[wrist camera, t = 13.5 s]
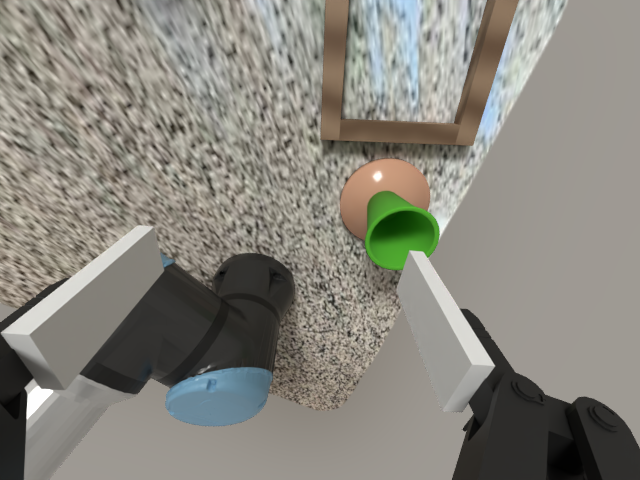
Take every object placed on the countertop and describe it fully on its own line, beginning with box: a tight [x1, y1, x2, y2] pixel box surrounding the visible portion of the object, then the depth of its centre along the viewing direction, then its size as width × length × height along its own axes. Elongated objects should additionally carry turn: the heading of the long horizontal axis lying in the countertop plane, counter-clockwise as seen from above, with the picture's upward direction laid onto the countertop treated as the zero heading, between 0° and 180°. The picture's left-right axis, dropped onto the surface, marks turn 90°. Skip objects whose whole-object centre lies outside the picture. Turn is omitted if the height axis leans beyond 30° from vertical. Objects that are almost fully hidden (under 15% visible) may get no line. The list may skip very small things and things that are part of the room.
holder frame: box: [321, 0, 519, 146], centre depth 32 cm, size 21×21×2 cm
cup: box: [365, 191, 440, 270], centre depth 37 cm, size 9×9×11 cm
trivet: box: [340, 158, 430, 240], centre depth 42 cm, size 14×14×1 cm
